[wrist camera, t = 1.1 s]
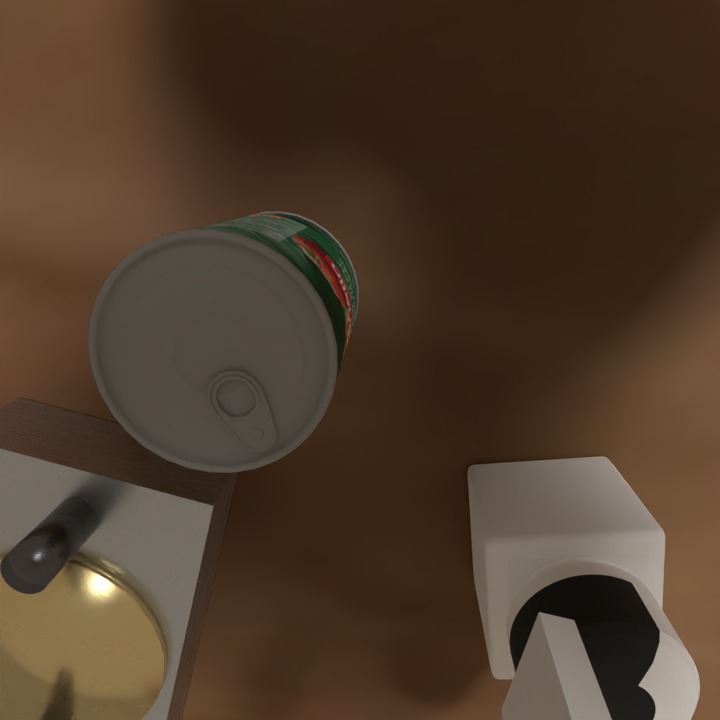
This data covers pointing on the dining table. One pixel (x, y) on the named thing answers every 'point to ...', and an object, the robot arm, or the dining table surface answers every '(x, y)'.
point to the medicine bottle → (579, 578)
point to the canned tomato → (225, 339)
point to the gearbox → (100, 568)
